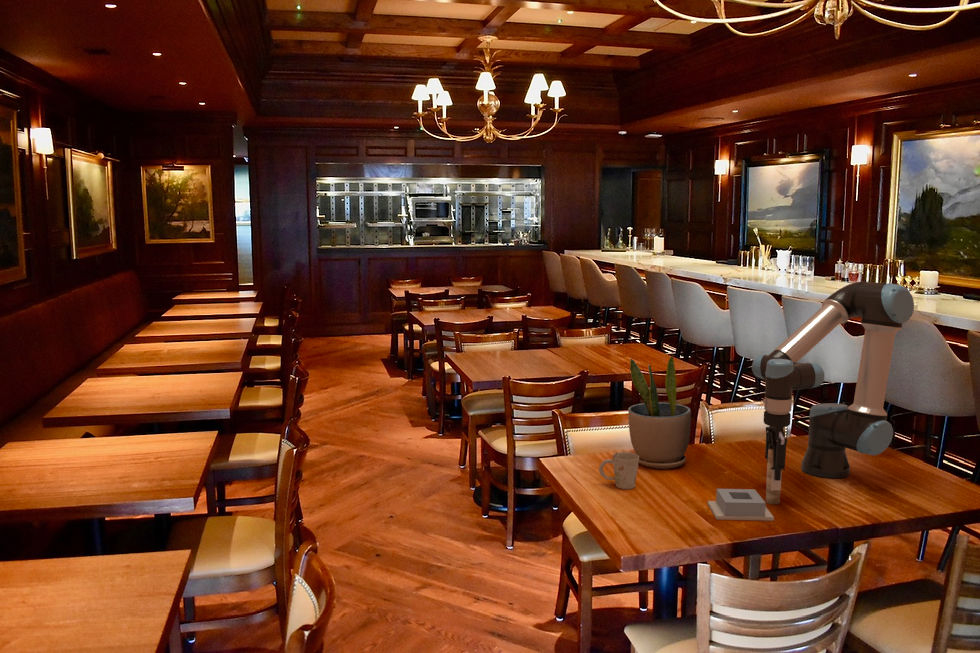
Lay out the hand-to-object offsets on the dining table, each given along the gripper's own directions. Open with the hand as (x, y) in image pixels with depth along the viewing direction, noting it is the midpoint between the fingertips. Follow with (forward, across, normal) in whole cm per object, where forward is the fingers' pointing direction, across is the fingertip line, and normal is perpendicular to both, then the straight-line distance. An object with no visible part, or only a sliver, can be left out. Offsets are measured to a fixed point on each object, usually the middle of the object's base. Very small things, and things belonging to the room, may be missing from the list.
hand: (773, 487), depth 239 cm
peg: (+5, 0, 0) cm, 5 cm away
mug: (+5, -12, -45) cm, 47 cm away
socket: (+5, +9, -12) cm, 16 cm away
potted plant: (+5, -36, -29) cm, 47 cm away
